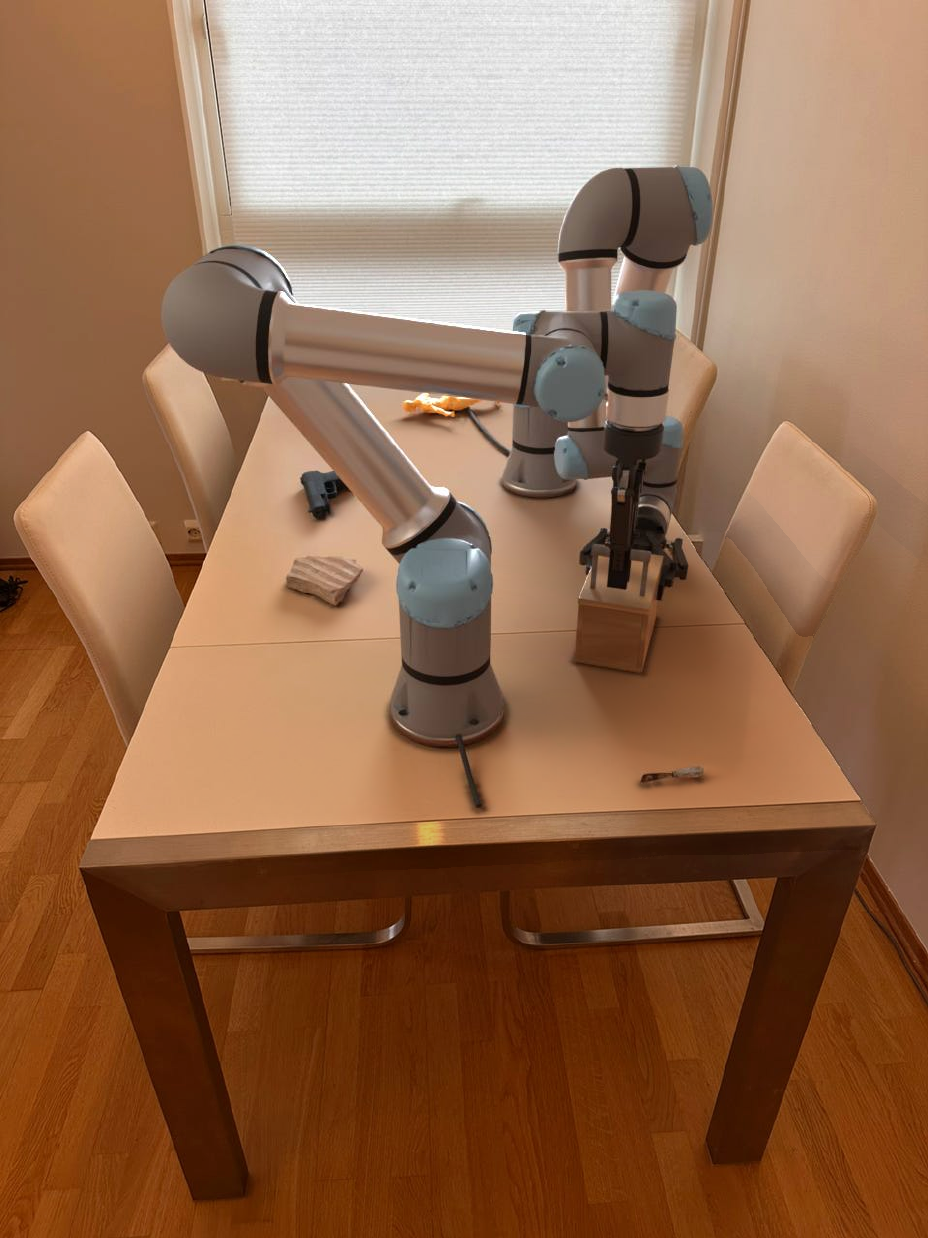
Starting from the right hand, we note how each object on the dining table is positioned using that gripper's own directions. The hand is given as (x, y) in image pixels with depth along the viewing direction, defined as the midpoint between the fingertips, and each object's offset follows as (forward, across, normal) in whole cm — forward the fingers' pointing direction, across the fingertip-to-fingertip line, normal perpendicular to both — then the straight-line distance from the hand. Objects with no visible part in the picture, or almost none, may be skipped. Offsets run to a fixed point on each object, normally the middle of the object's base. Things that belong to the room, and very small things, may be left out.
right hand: (624, 587), depth 136 cm
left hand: (+9, 0, +6) cm, 11 cm away
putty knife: (+34, -12, -7) cm, 36 cm away
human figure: (-89, +58, -7) cm, 106 cm away
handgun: (-30, +63, -7) cm, 70 cm away
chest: (+4, 0, -7) cm, 8 cm away
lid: (+4, 0, +4) cm, 6 cm away
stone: (+3, +50, -7) cm, 50 cm away
